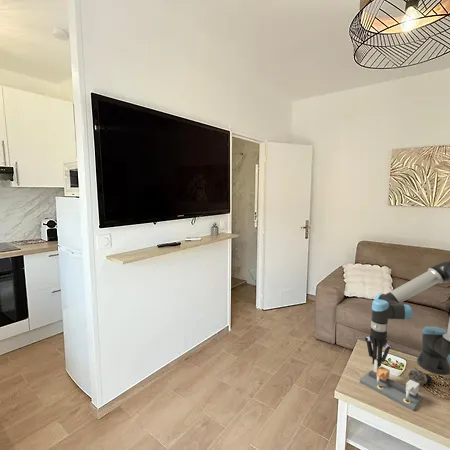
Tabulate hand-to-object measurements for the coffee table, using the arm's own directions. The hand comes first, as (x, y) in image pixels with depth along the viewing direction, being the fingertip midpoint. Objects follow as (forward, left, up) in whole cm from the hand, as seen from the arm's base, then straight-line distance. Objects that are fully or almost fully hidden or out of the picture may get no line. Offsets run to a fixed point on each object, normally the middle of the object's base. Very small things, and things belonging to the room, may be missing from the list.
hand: (376, 370), depth 147 cm
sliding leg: (+2, +4, -3) cm, 5 cm away
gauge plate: (+2, +8, -6) cm, 10 cm away
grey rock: (-18, +14, -6) cm, 24 cm away
